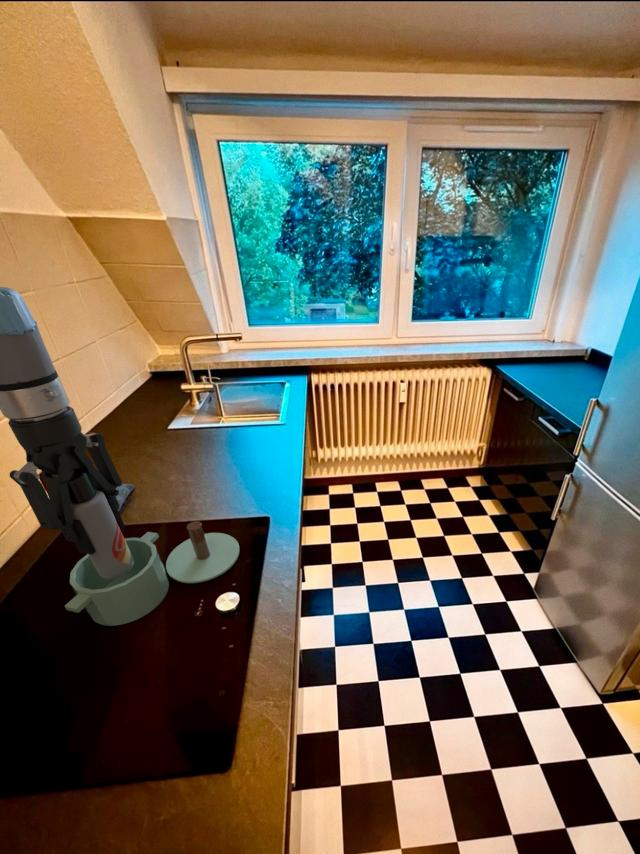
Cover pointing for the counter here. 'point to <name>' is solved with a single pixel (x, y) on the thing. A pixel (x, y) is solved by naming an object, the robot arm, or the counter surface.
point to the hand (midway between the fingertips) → (102, 539)
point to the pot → (121, 586)
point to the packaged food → (124, 494)
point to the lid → (202, 556)
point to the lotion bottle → (99, 526)
